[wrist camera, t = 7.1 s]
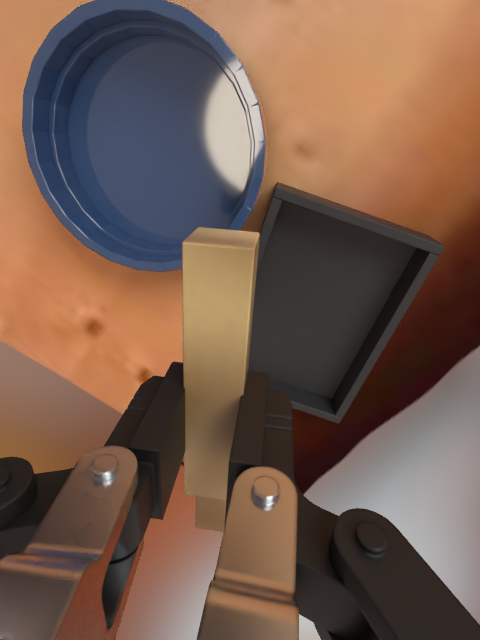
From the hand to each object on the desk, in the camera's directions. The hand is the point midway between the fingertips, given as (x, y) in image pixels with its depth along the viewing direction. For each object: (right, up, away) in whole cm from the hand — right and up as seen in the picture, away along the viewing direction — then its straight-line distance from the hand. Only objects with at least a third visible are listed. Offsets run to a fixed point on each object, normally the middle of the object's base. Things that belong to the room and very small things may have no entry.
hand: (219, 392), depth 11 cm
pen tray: (+6, +3, +15) cm, 16 cm away
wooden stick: (0, 0, 0) cm, 0 cm away
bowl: (-4, +13, +11) cm, 18 cm away
